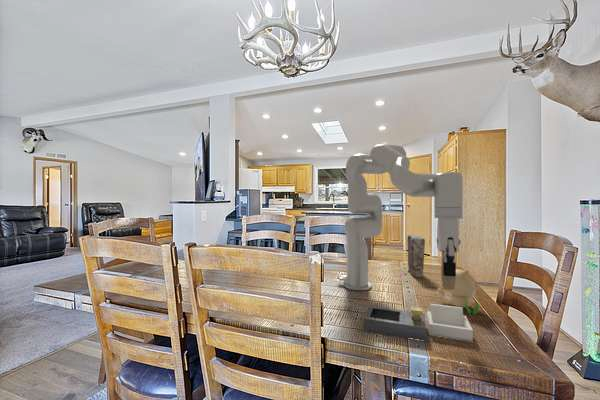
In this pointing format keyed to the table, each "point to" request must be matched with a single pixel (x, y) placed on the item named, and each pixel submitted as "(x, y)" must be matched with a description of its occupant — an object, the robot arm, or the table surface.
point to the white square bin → (449, 323)
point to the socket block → (394, 323)
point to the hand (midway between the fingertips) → (448, 273)
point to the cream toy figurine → (462, 291)
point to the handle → (447, 280)
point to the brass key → (416, 312)
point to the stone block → (415, 255)
